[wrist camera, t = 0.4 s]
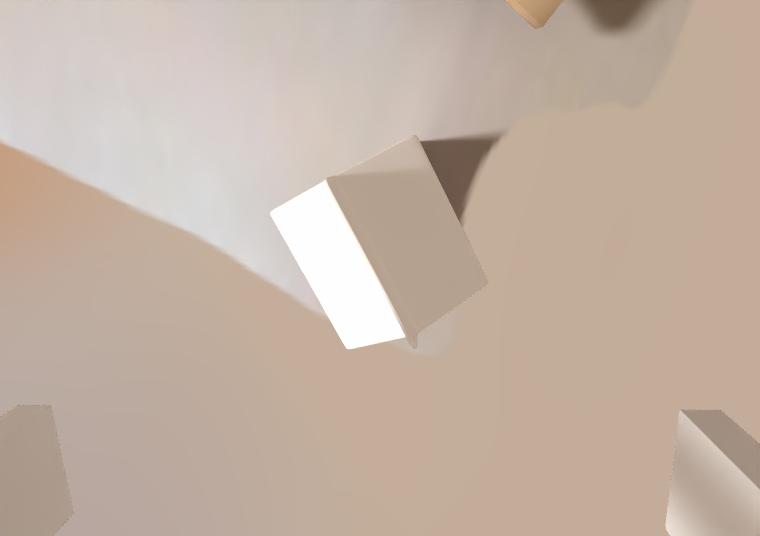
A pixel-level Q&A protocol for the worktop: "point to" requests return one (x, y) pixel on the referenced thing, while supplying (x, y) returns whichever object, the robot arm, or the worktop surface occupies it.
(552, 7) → the tan piece
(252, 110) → the worktop surface
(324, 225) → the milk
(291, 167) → the worktop surface
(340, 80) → the worktop surface
